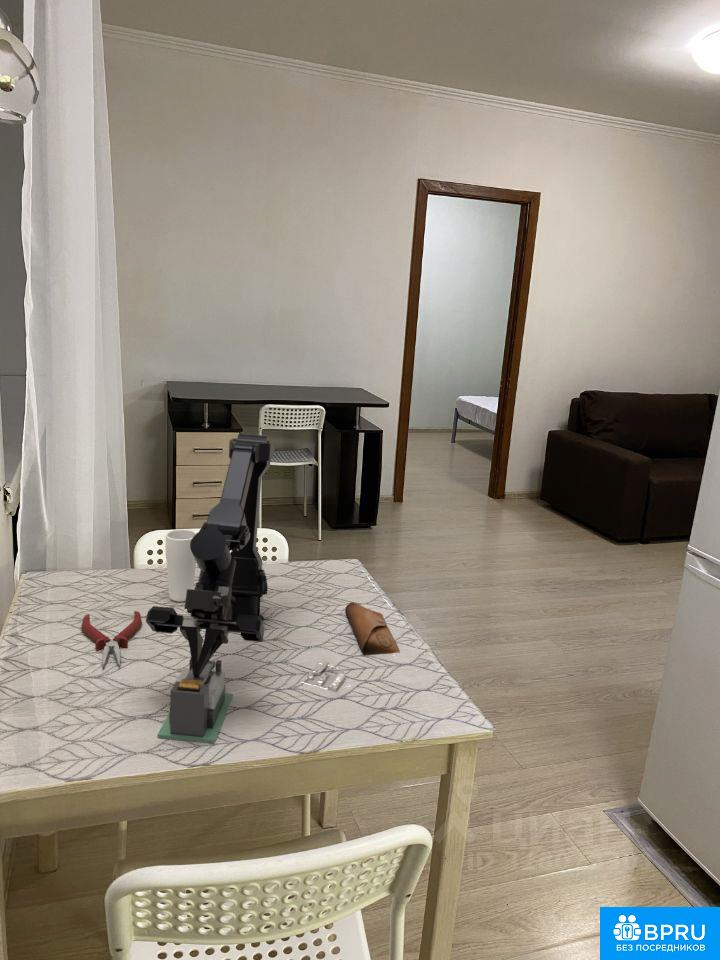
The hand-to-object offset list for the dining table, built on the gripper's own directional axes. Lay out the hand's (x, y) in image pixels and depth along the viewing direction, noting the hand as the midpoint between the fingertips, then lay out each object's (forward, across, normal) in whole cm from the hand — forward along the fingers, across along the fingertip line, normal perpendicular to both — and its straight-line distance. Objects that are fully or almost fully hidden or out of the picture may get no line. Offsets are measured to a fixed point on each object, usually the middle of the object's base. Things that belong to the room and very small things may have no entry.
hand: (195, 675), depth 114 cm
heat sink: (+4, 0, +7) cm, 8 cm away
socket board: (+5, 0, +7) cm, 8 cm away
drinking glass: (-26, -16, +37) cm, 48 cm away
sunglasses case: (-19, +27, +31) cm, 46 cm away
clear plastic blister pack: (-6, +20, +18) cm, 28 cm away
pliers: (-10, -24, +22) cm, 34 cm away
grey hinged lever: (-3, 0, +5) cm, 6 cm away
